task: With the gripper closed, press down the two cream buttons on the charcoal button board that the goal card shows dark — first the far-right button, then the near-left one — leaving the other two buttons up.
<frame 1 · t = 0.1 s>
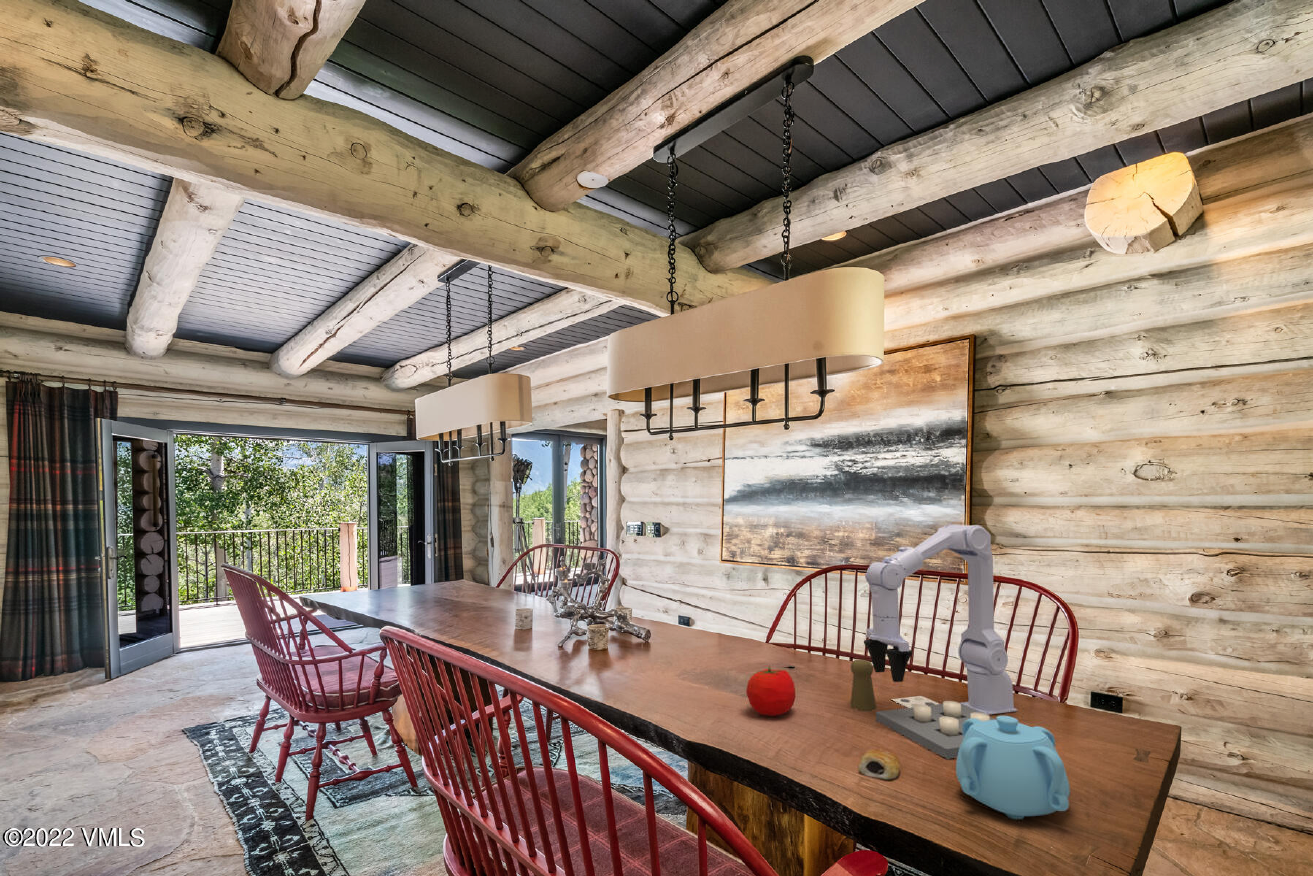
hand: (888, 676, 140), 10 cm above the table, tool pointing down, fingers open, 7 cm apart
goal card: (917, 703, 151), on the table
button 3: (922, 714, 135), point 3 cm above the table, slide at 0.0 cm
tomato: (772, 714, 145), on the table
board: (951, 732, 132), on the table
button 2: (980, 722, 130), point 3 cm above the table, slide at 0.0 cm
button 4: (949, 726, 127), point 3 cm above the table, slide at 0.0 cm
button 1: (952, 710, 137), point 3 cm above the table, slide at 0.0 cm
pastry: (880, 772, 114), on the table
decorative pot: (1012, 804, 102), on the table
olive pawn figure: (863, 708, 149), on the table
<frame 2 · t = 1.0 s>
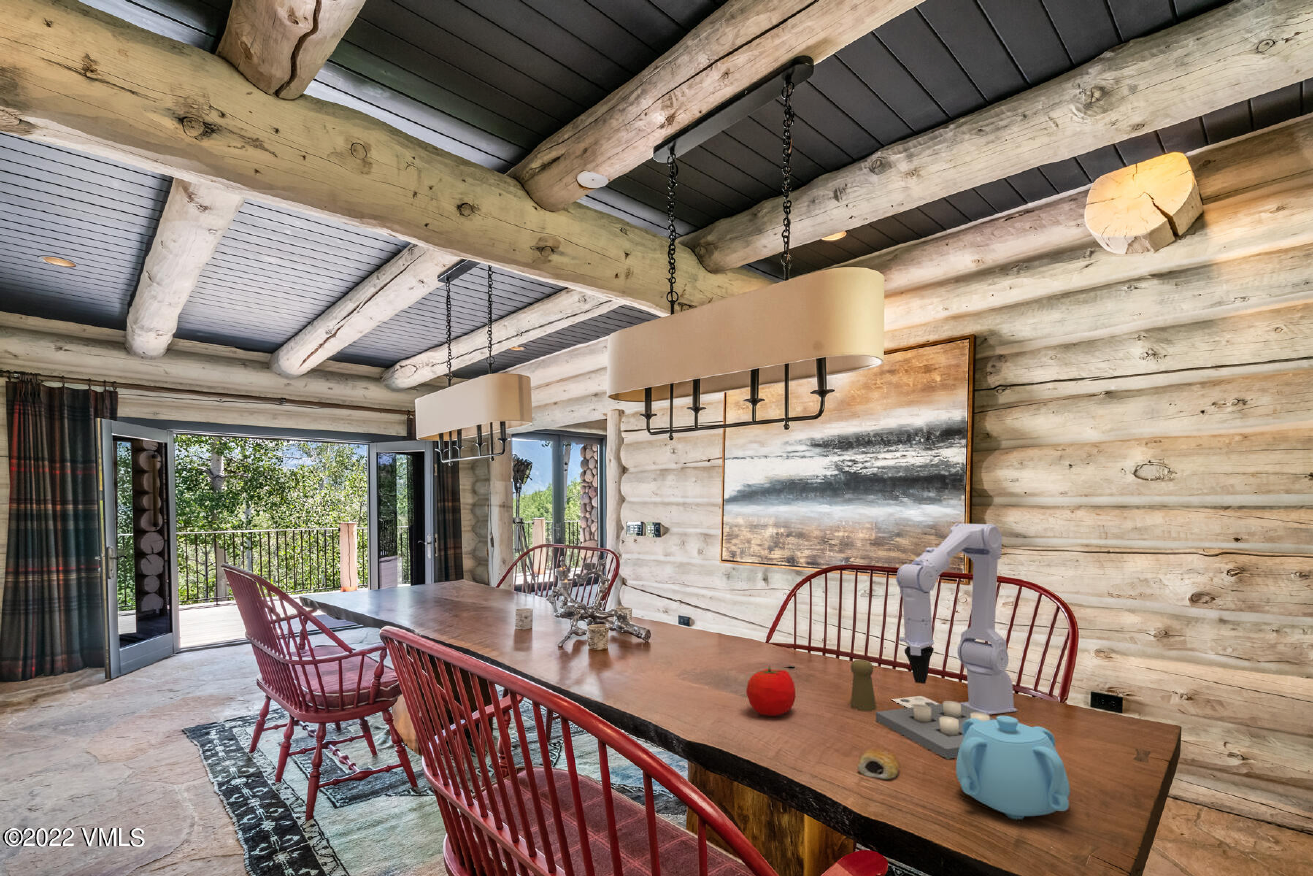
hand: (920, 681, 136), 10 cm above the table, tool pointing down, fingers closed
nothing on the table moved.
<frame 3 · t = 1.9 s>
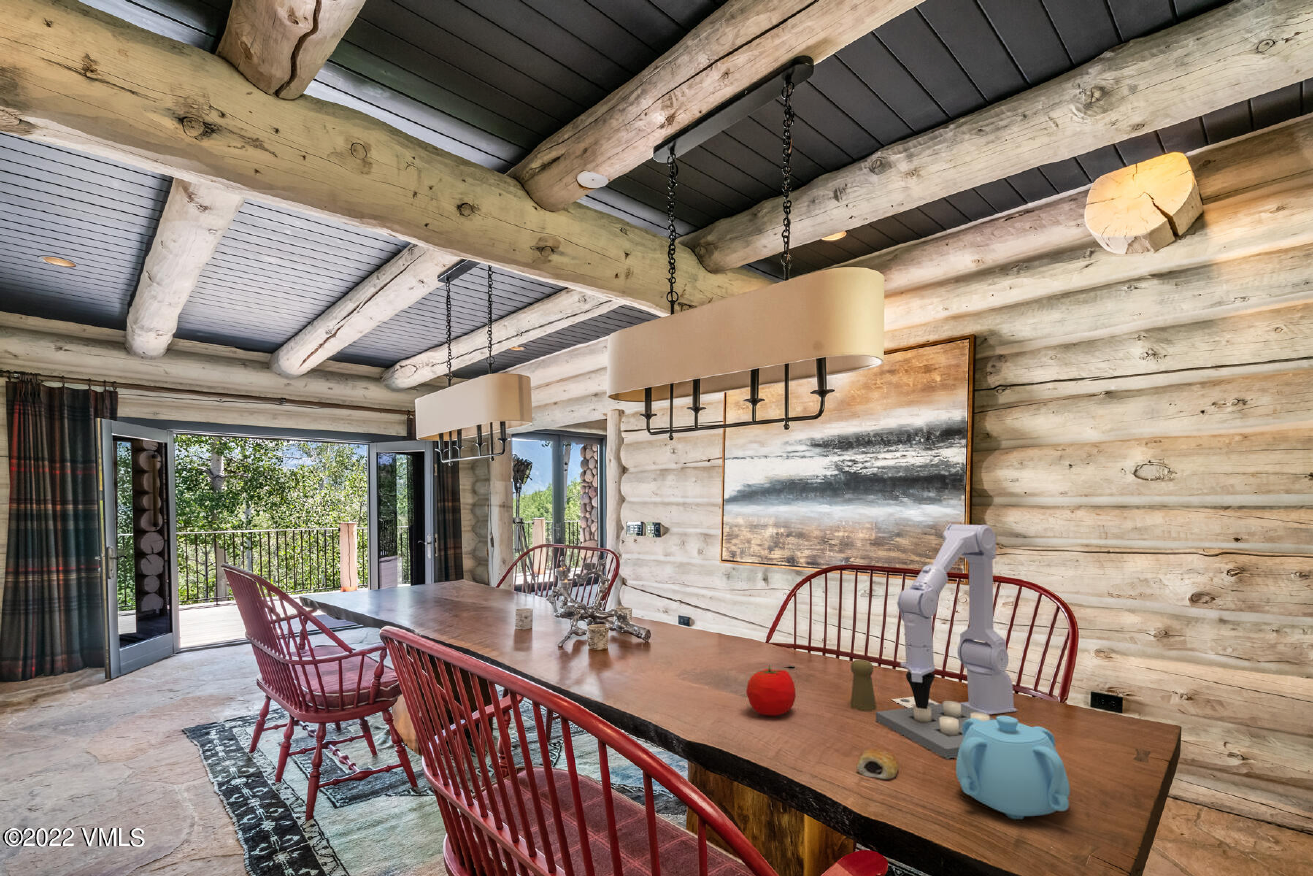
hand: (922, 707, 135), 4 cm above the table, tool pointing down, fingers closed, pressing on button 3
button 3: (922, 714, 135), point 3 cm above the table, slide at -0.1 cm, touching gripper
everything else where it was.
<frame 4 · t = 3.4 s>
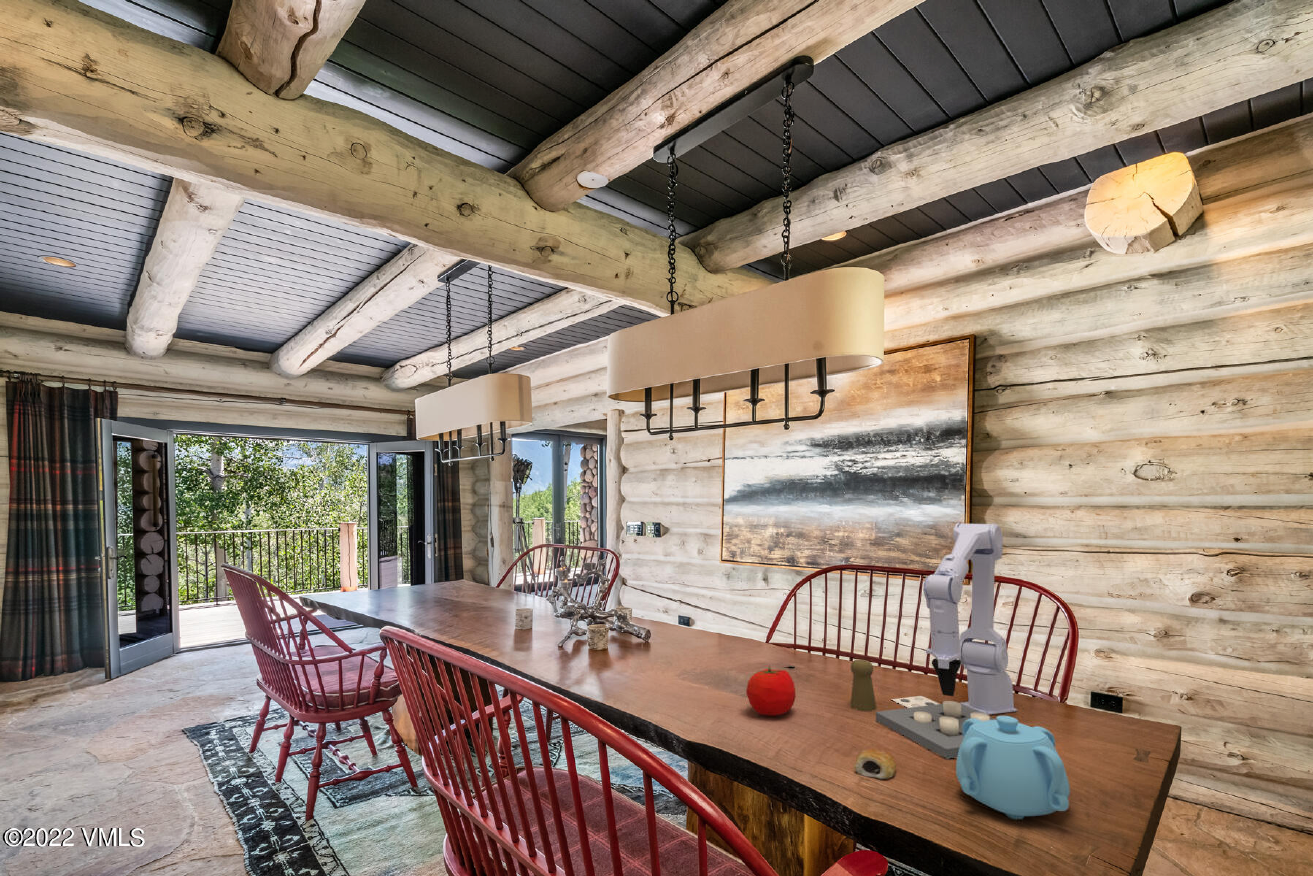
hand: (948, 694, 133), 8 cm above the table, tool pointing down, fingers closed
button 3: (922, 721, 135), point 2 cm above the table, slide at -1.5 cm
everything else where it was.
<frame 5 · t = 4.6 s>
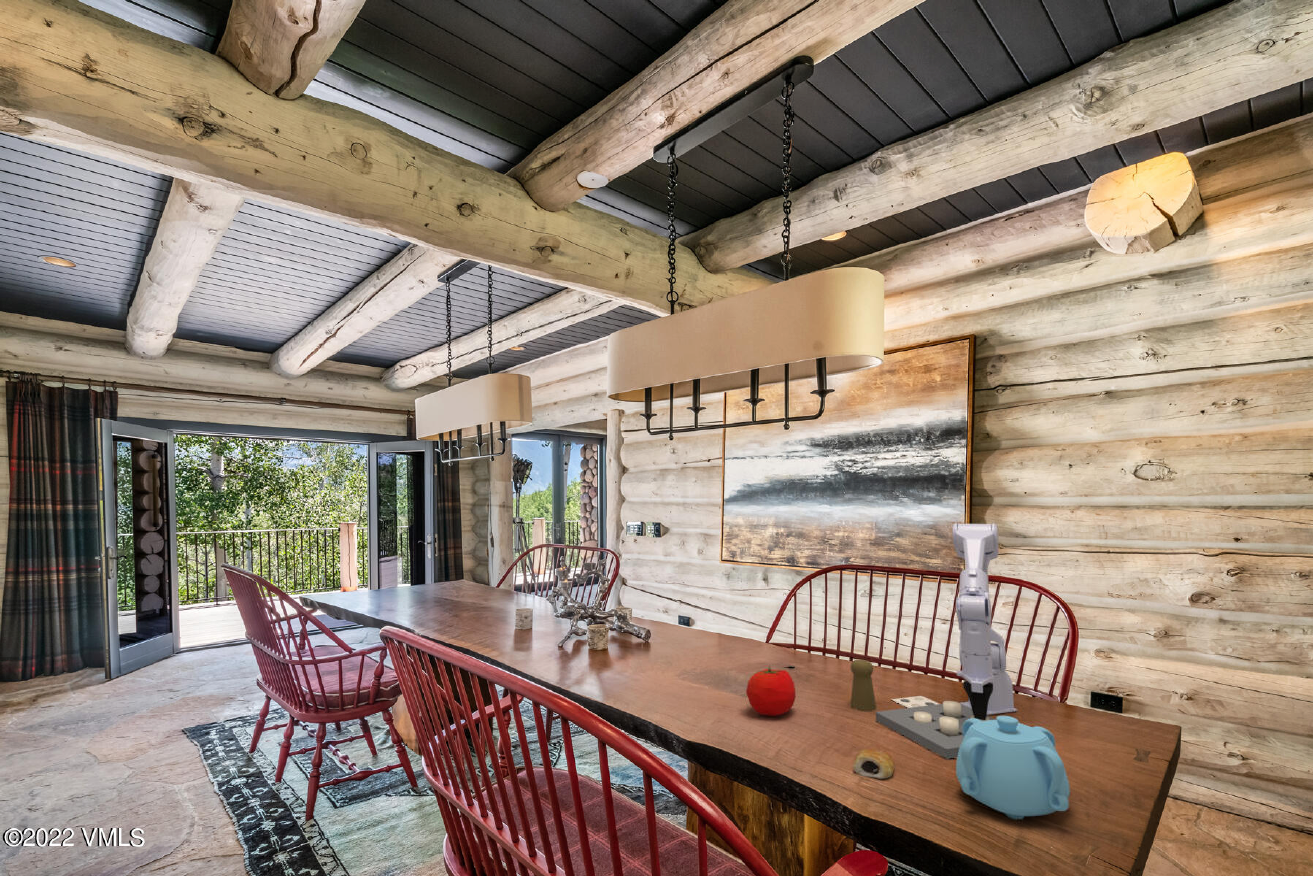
hand: (980, 718, 130), 4 cm above the table, tool pointing down, fingers closed, pressing on button 2
button 2: (980, 725, 130), point 2 cm above the table, slide at -0.6 cm, touching gripper
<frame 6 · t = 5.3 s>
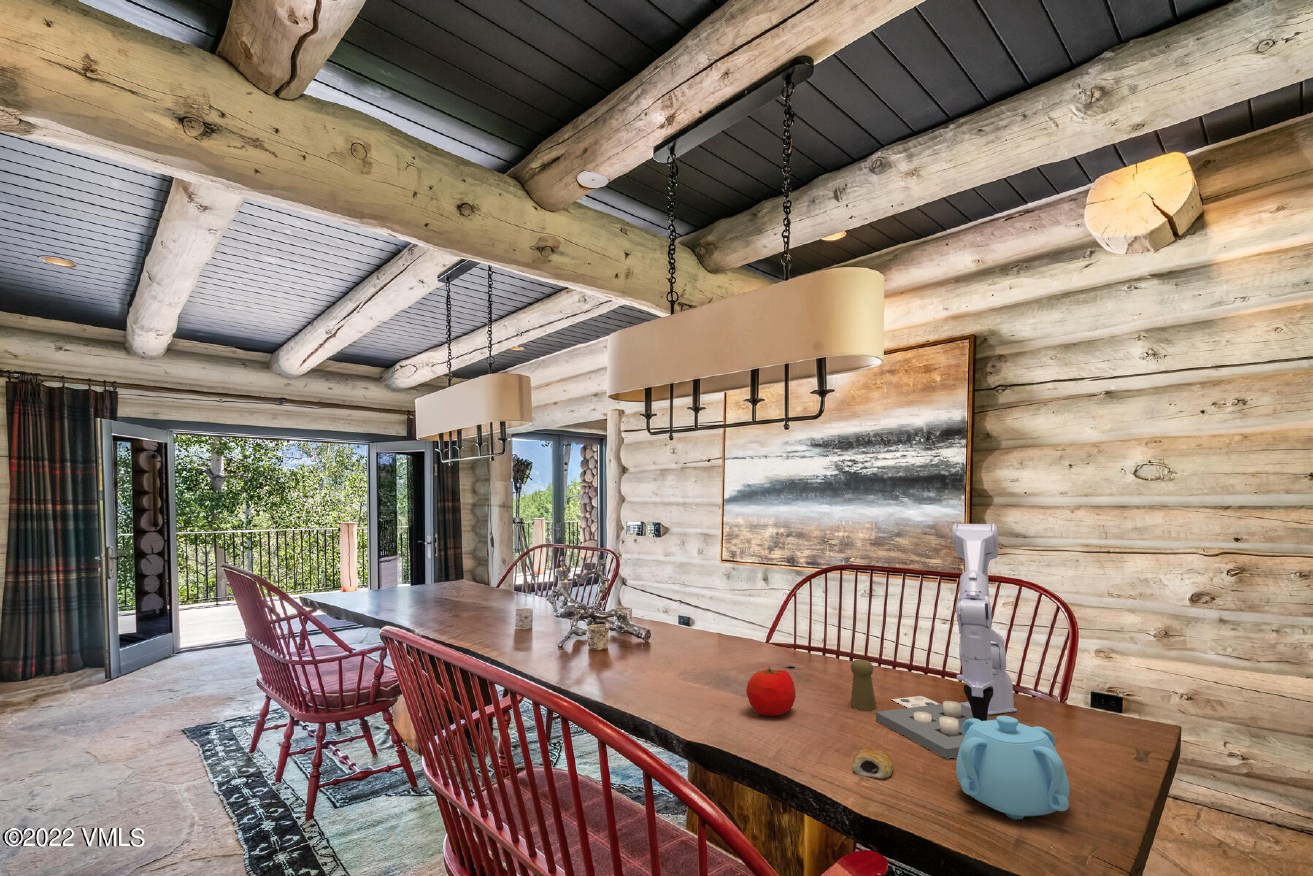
hand: (980, 722, 130), 3 cm above the table, tool pointing down, fingers closed
button 2: (980, 729, 129), point 2 cm above the table, slide at -1.5 cm
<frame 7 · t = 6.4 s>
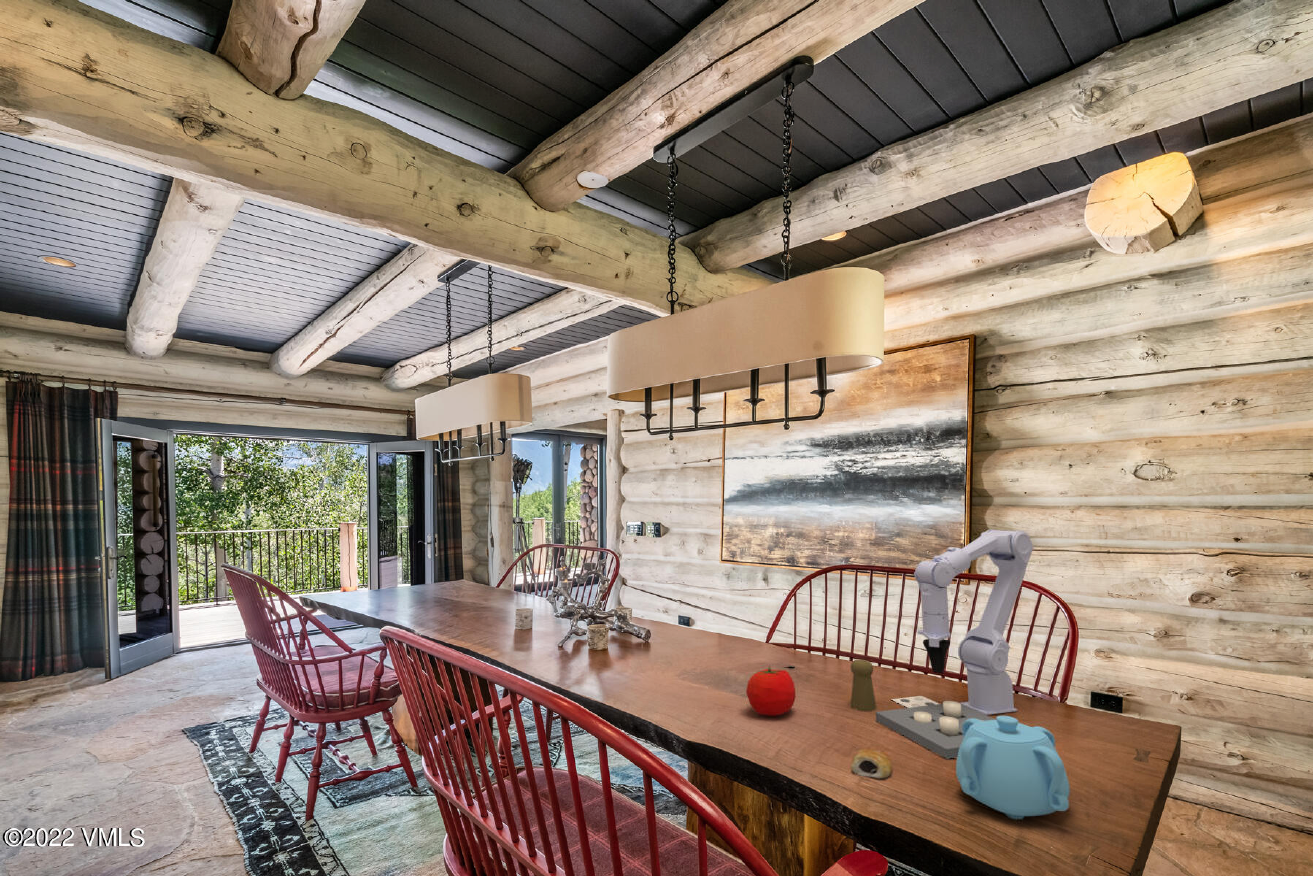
hand: (938, 672, 143), 10 cm above the table, tool pointing down, fingers closed
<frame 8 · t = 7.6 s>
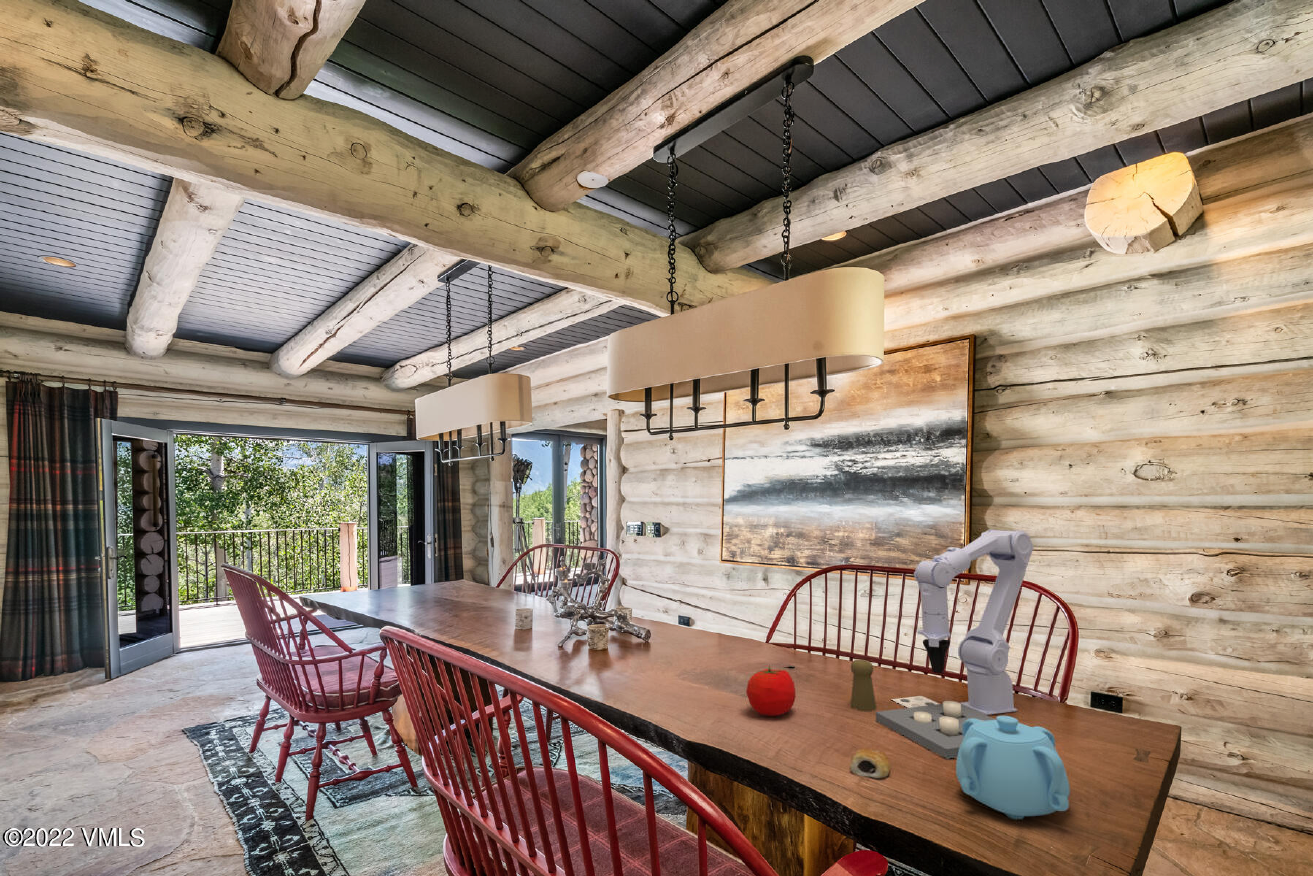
hand: (938, 672, 143), 10 cm above the table, tool pointing down, fingers closed
at the end: button 3 slide at -1.5 cm; button 2 slide at -1.5 cm; button 1 slide at 0.0 cm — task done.
